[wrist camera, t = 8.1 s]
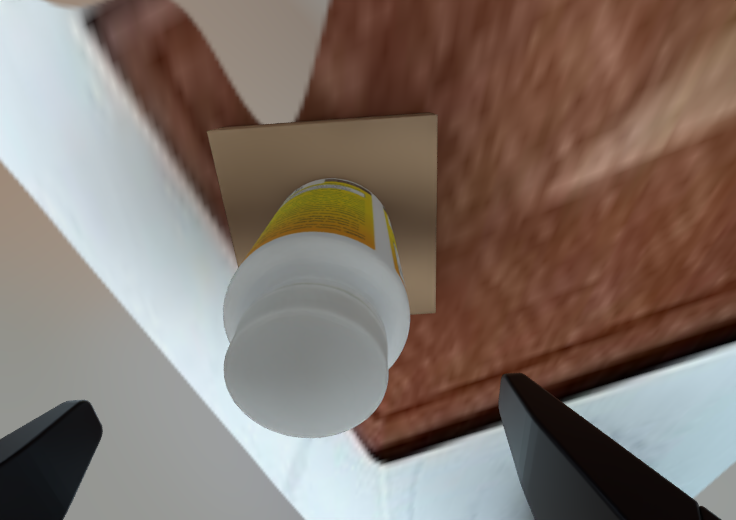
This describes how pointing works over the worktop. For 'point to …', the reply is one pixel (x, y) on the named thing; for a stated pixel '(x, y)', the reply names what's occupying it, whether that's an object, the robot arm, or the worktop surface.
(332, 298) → the supplement bottle
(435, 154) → the beige square slab
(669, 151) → the worktop surface
